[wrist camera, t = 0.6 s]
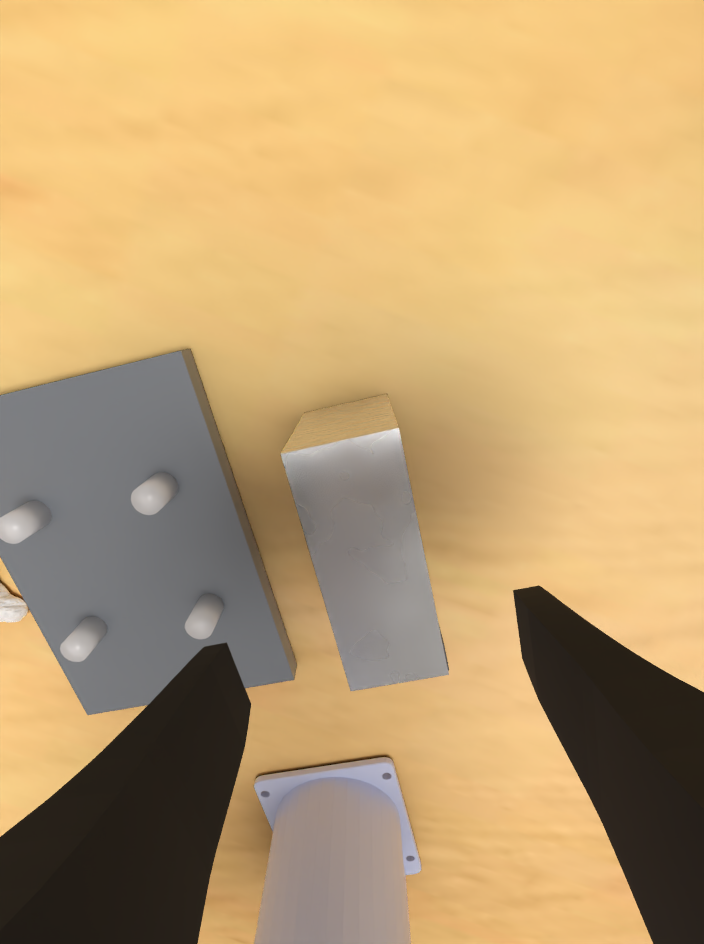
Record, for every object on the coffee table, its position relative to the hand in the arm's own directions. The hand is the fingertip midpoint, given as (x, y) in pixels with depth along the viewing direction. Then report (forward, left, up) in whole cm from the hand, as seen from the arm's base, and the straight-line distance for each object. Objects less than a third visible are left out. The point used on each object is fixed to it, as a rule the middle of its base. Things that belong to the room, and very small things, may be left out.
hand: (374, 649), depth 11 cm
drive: (0, 0, -9) cm, 9 cm away
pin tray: (0, +11, -9) cm, 14 cm away
